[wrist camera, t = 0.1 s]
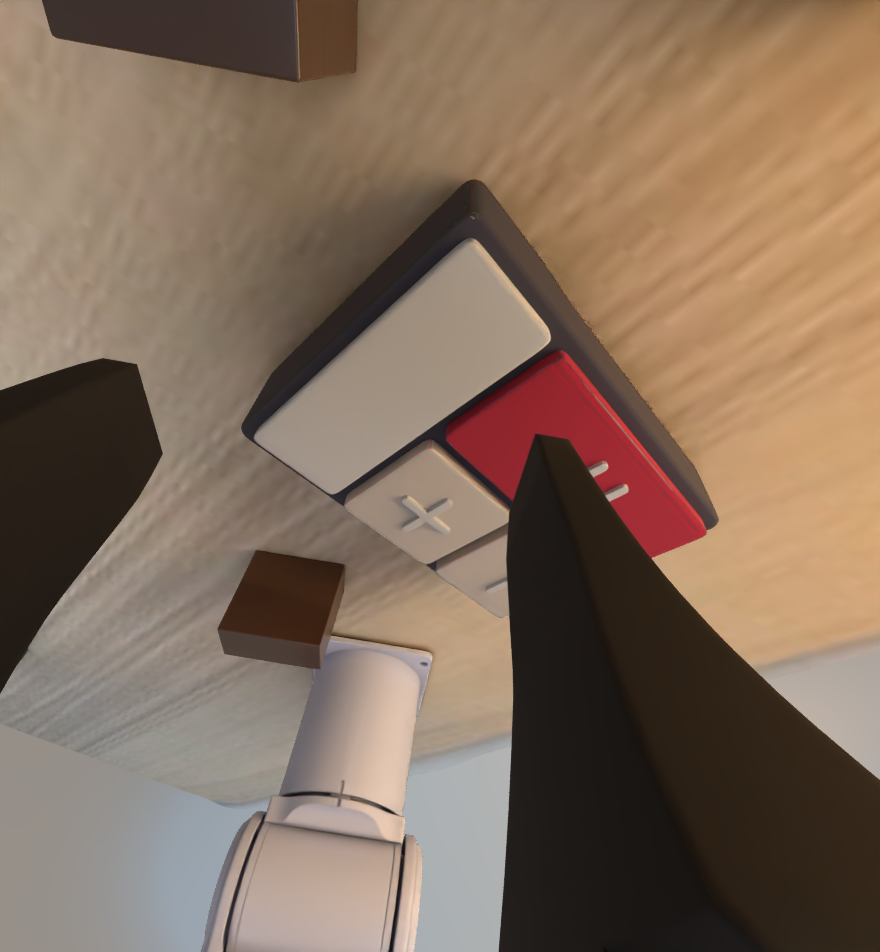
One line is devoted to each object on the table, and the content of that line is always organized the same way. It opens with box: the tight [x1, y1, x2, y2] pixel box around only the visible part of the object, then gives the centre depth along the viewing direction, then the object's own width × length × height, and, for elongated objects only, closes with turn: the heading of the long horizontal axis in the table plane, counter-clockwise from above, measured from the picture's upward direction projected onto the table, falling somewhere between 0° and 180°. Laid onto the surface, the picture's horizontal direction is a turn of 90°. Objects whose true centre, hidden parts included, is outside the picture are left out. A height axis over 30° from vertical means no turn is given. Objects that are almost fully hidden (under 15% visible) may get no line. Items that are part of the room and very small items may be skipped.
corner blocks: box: [42, 0, 358, 670], centre depth 19 cm, size 26×5×5 cm, turn 172°
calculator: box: [241, 180, 719, 618], centre depth 20 cm, size 11×4×15 cm
